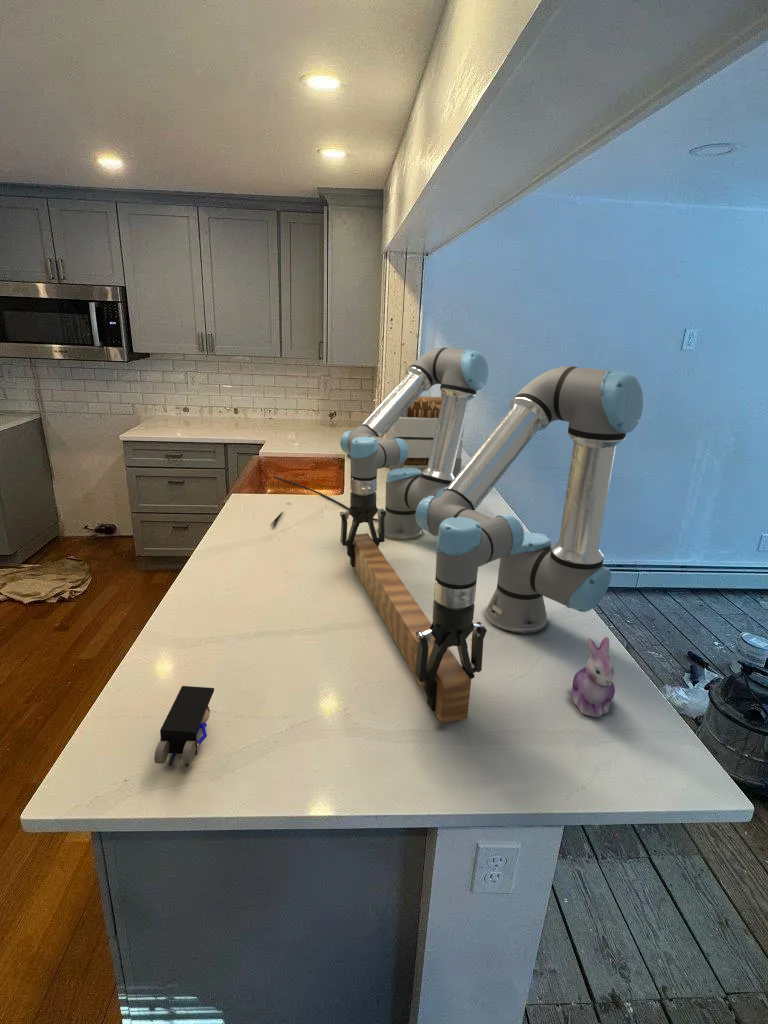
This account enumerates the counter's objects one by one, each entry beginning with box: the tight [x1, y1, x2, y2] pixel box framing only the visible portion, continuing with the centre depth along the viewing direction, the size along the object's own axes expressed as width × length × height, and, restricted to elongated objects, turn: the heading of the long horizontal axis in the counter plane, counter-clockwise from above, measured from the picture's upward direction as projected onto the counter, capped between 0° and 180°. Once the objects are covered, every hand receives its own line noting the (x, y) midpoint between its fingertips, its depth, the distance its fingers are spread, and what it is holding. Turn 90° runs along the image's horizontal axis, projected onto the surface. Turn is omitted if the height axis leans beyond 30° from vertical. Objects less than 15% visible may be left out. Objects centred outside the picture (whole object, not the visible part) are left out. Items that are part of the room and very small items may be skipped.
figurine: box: [570, 636, 616, 718], centre depth 114 cm, size 9×10×15 cm
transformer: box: [384, 391, 465, 477], centre depth 268 cm, size 34×33×41 cm
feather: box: [270, 512, 283, 529], centre depth 212 cm, size 2×28×2 cm
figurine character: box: [153, 685, 215, 768], centre depth 100 cm, size 7×8×15 cm
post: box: [353, 533, 472, 724], centre depth 140 cm, size 74×6×9 cm, turn 17°
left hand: (362, 564), depth 171 cm, fingers closed on post, 6 cm apart
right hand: (445, 703), depth 112 cm, fingers closed on post, 6 cm apart
